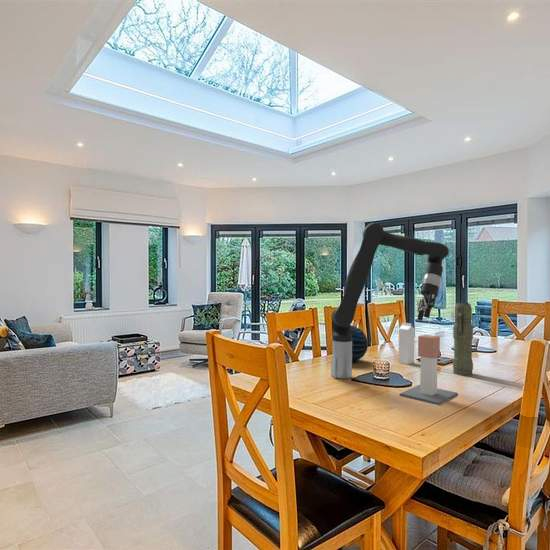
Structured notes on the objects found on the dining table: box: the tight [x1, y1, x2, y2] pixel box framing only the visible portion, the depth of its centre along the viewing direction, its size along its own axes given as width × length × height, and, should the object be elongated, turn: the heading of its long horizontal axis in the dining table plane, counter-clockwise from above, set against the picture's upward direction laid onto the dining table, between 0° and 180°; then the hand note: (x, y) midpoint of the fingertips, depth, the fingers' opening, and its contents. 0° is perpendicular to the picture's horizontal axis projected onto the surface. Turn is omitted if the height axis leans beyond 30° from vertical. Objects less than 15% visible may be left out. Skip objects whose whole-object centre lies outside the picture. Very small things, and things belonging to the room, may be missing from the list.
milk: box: [398, 322, 415, 365], centre depth 217 cm, size 6×6×22 cm
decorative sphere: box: [331, 325, 369, 363], centre depth 220 cm, size 20×20×20 cm
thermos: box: [452, 301, 474, 377], centre depth 194 cm, size 9×12×35 cm
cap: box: [417, 334, 441, 358], centre depth 159 cm, size 6×6×8 cm
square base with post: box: [399, 356, 458, 406], centre depth 159 cm, size 18×16×18 cm
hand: (422, 318), depth 176 cm, fingers open, 8 cm apart
